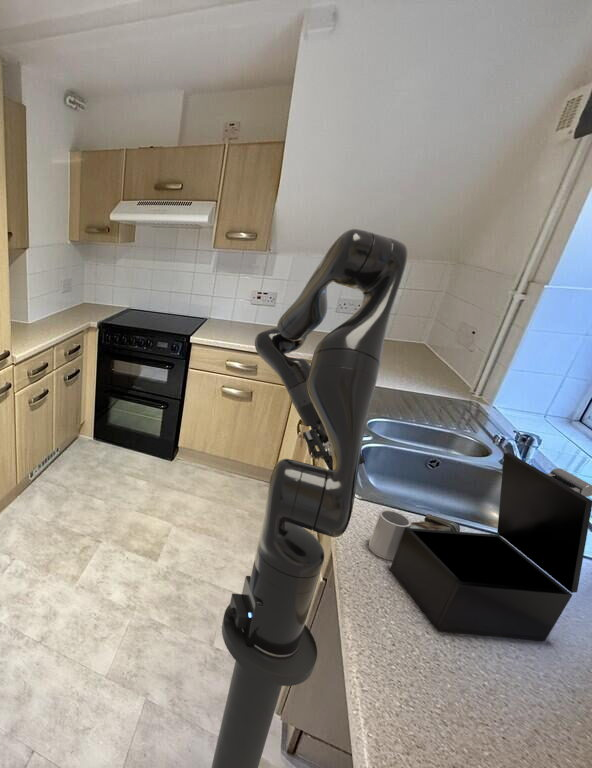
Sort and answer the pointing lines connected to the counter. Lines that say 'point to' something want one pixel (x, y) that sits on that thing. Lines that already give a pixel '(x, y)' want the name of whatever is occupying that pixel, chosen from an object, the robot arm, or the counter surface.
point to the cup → (388, 533)
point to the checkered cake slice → (436, 524)
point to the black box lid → (545, 517)
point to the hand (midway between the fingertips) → (349, 468)
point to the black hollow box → (477, 584)
